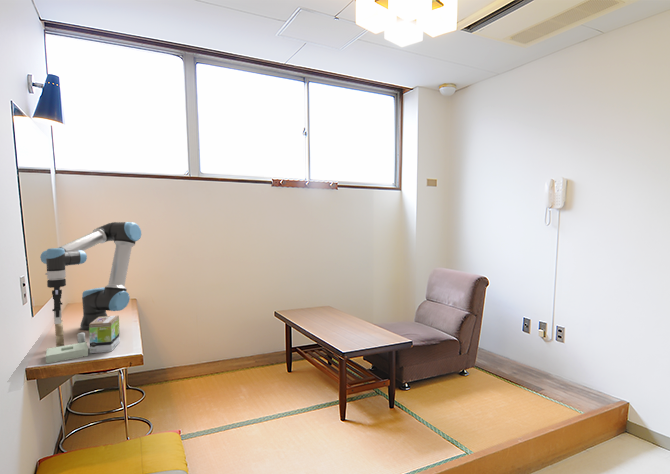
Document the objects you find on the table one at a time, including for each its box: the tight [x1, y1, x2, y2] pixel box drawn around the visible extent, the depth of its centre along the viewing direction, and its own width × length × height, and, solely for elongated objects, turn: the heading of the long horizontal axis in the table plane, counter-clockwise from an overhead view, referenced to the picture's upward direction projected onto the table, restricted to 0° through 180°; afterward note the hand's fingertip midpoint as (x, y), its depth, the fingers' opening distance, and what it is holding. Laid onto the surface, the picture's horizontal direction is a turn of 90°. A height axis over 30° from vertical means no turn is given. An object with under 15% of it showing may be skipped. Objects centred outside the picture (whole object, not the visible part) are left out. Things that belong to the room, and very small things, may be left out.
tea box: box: [88, 315, 121, 354], centre depth 192 cm, size 15×10×15 cm
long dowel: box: [54, 319, 65, 347], centre depth 193 cm, size 3×3×14 cm
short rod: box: [77, 331, 86, 343], centre depth 194 cm, size 3×3×7 cm
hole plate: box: [45, 341, 89, 364], centre depth 182 cm, size 16×12×4 cm
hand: (58, 320), depth 192 cm, fingers open, 13 cm apart
